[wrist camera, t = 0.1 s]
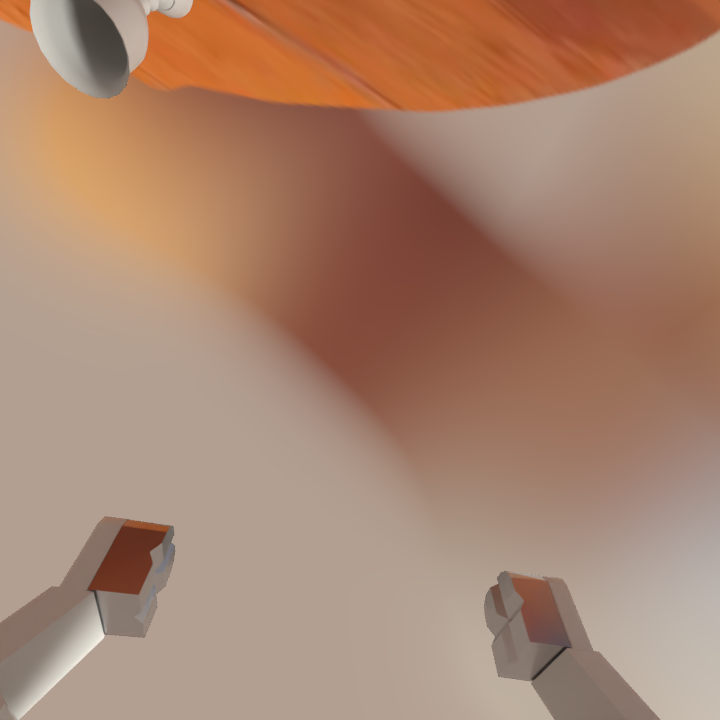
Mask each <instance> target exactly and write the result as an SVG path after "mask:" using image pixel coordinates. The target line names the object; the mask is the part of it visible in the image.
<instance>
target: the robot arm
mask: <svg viewBox="0 0 720 720" xmlns="http://www.w3.org/2000/svg"><path fill="white" fill-rule="evenodd" d="M173 536H174V527H173V526H170V525H163V524H156V523H148V522H141V521H134V520H129V519H122V518H115V517H104V518H103V519H102V520H101V521H100V522H99V523H98V524H97V526H96V527H95V529H94V531H93V532H92V534H91V536H90V537H89V539H88V541H87V542H86V544H85V545H84V547H83V549H82V550H81V552H80V554H79V556H78V557H77V559H76V560H75V562H74V564H73V565H72V567H71V568H70V570H69V572H68V573H67V575H66V577H65V578H64V580H63V582H62V584H61V585H60V587H54V586H52V587H50V588H49V589H48V590H46V591H45V592H43V593H42V594H40V595H39V596H38V597H36V598H35V599H33V600H32V601H30V602H29V603H28V604H26V605H25V606H23V607H22V608H20V609H19V610H18V611H16V612H15V613H13V614H12V615H11V616H9V617H8V618H6V619H5V620H3V621H2V622H1V623H0V720H19V719H20V718H21V717H22V716H23V715H24V714H25V713H26V712H27V711H28V710H29V709H30V708H31V707H32V706H33V705H35V703H37V702H38V701H39V700H40V699H41V698H42V697H43V696H44V695H45V694H46V693H47V692H48V691H49V690H50V689H51V688H52V687H53V686H54V685H55V684H56V683H57V682H58V681H59V680H60V679H62V678H63V677H64V676H65V675H66V674H67V673H68V672H69V671H70V670H71V669H72V668H73V667H74V666H75V665H76V664H77V663H78V662H79V661H80V660H81V659H82V658H83V657H84V656H85V655H86V654H88V653H89V652H90V651H91V650H92V649H93V648H94V647H95V646H96V645H97V644H98V643H99V642H100V641H101V640H102V639H103V638H104V634H106V635H119V636H130V637H143V638H144V637H145V636H146V633H147V631H148V628H149V626H150V623H151V621H152V618H153V616H154V614H155V611H156V609H157V597H156V594H157V593H158V592H159V591H161V590H162V589H163V588H164V587H165V586H166V583H167V581H168V578H169V575H170V572H171V569H172V565H173V562H174V555H175V545H174V544H173V543H171V541H172V538H173ZM497 580H498V584H497V585H495V586H492V587H491V588H490V589H489V591H488V592H487V594H486V598H485V604H484V609H485V618H486V623H487V627H488V628H489V629H490V631H491V632H492V633H493V634H494V636H495V638H494V641H493V644H492V650H493V655H494V659H495V664H496V668H497V673H498V676H499V677H504V678H512V679H518V680H525V681H532V683H531V684H532V685H533V687H534V689H535V690H536V692H537V693H538V695H539V696H540V698H541V700H542V701H543V703H544V704H545V706H546V707H547V709H548V710H549V712H550V713H551V715H552V716H553V718H554V719H555V720H660V719H659V718H658V717H657V715H656V714H655V713H654V712H653V711H652V710H651V709H650V708H649V707H648V706H647V704H646V703H645V702H644V701H643V700H642V699H641V698H640V697H639V696H638V694H637V693H636V692H635V691H634V690H633V689H632V688H631V687H630V686H629V684H628V683H627V682H626V681H625V680H624V679H623V678H622V677H621V676H620V674H619V673H618V672H617V671H616V670H615V669H614V668H613V667H612V666H611V664H610V663H609V662H608V661H607V660H606V659H605V658H604V657H603V656H602V654H601V653H600V652H597V651H593V648H592V646H591V644H590V641H589V639H588V636H587V634H586V631H585V629H584V626H583V624H582V621H581V619H580V616H579V614H578V611H577V609H576V606H575V604H574V602H573V599H572V596H571V594H570V591H569V589H568V587H567V585H566V583H565V582H564V581H563V580H562V579H560V578H554V577H547V576H541V575H534V574H526V573H517V572H509V571H504V572H501V573H500V574H499V576H498V577H497Z"/></svg>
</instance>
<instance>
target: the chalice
mask: <svg viewBox="0 0 720 720" xmlns="http://www.w3.org/2000/svg"><path fill="white" fill-rule="evenodd" d="M192 4H193V0H31V6H30V19H31V23H32V28H33V33H34V35H35V37H36V40H37V42H38V44H39V46H40V49H41V50H42V52H43V54H44V55H45V57H46V58H47V59H48V61H49V63H50V64H51V66H52V67H53V68H54V69H55V70H56V71H57V72H58V73H59V74H60V75H61V76H62V77H63V79H65V81H67V82H68V83H69V84H71V85H72V86H74V87H75V88H76V89H78V90H79V91H81V92H83V93H86V94H88V95H90V96H93V97H96V98H111V97H113V96H116V95H118V94H120V92H121V91H122V90H123V89H124V88H125V86H126V85H127V81H128V77H129V74H130V73H131V72H132V71H133V70H134V69H135V68H136V67H137V66H138V65H139V64H140V63H141V62H142V61H143V59H144V58H145V54H146V51H147V45H148V23H147V17H146V16H147V15H148V14H149V13H150V11H156V10H157V11H158V12H160V13H163V14H165V15H167V16H169V17H172V18H180V17H183V16H185V15H186V14H187V13H188V12H189V11H190V9H191V6H192Z"/></svg>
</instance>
